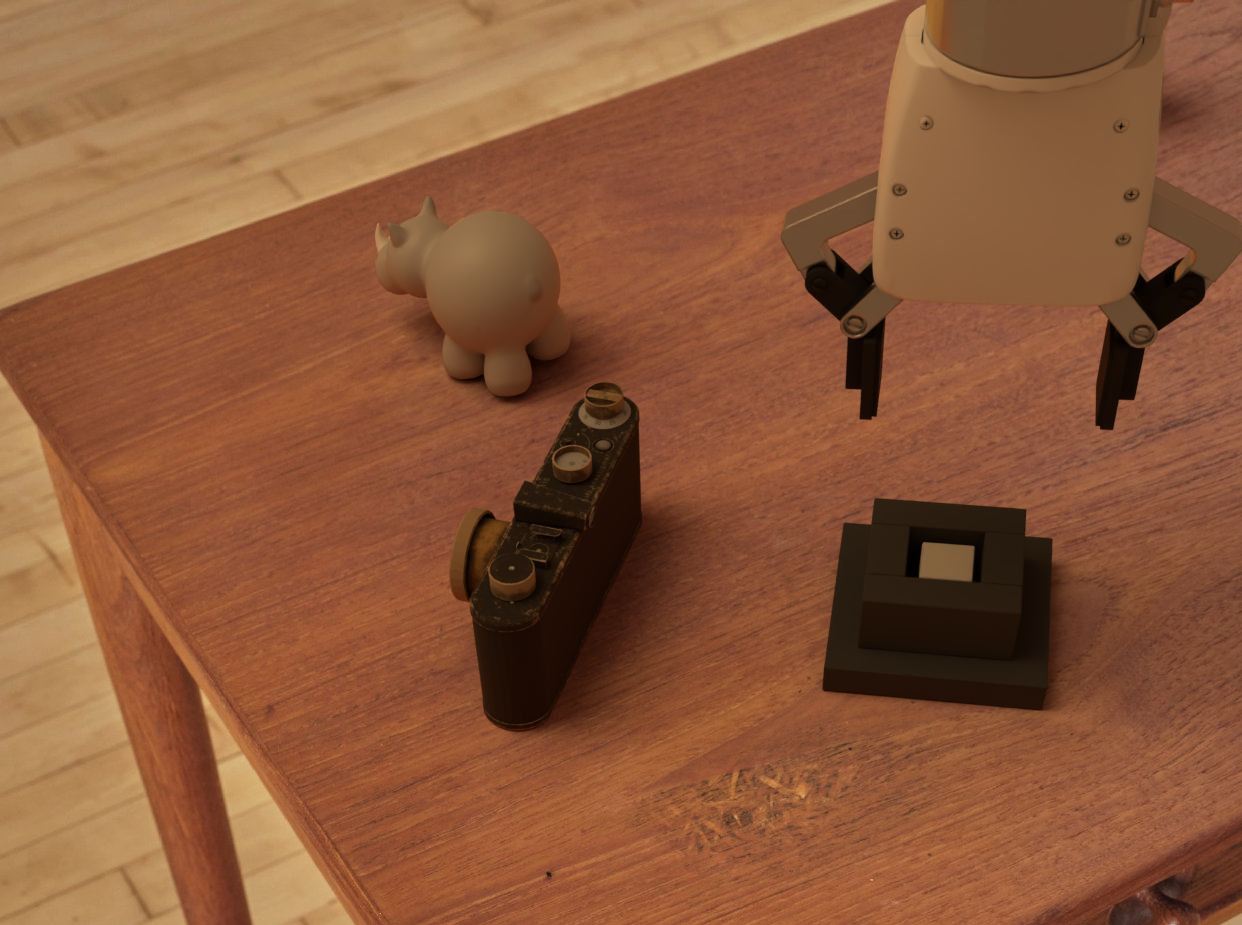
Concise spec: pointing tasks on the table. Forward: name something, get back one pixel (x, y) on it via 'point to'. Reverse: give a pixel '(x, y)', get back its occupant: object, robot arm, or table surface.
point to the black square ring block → (943, 608)
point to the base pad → (933, 672)
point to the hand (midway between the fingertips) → (985, 404)
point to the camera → (551, 558)
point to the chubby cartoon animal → (480, 291)
